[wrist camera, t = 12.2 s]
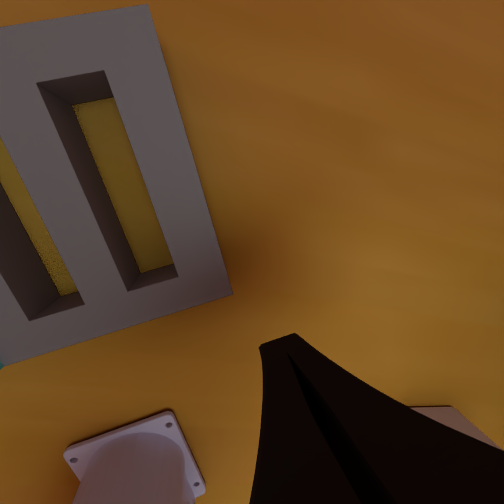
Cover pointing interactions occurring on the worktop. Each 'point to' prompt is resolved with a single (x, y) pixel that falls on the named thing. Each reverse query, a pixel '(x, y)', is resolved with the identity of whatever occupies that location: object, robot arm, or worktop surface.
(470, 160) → the worktop surface
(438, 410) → the milk carton
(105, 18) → the slot rack
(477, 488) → the robot arm
